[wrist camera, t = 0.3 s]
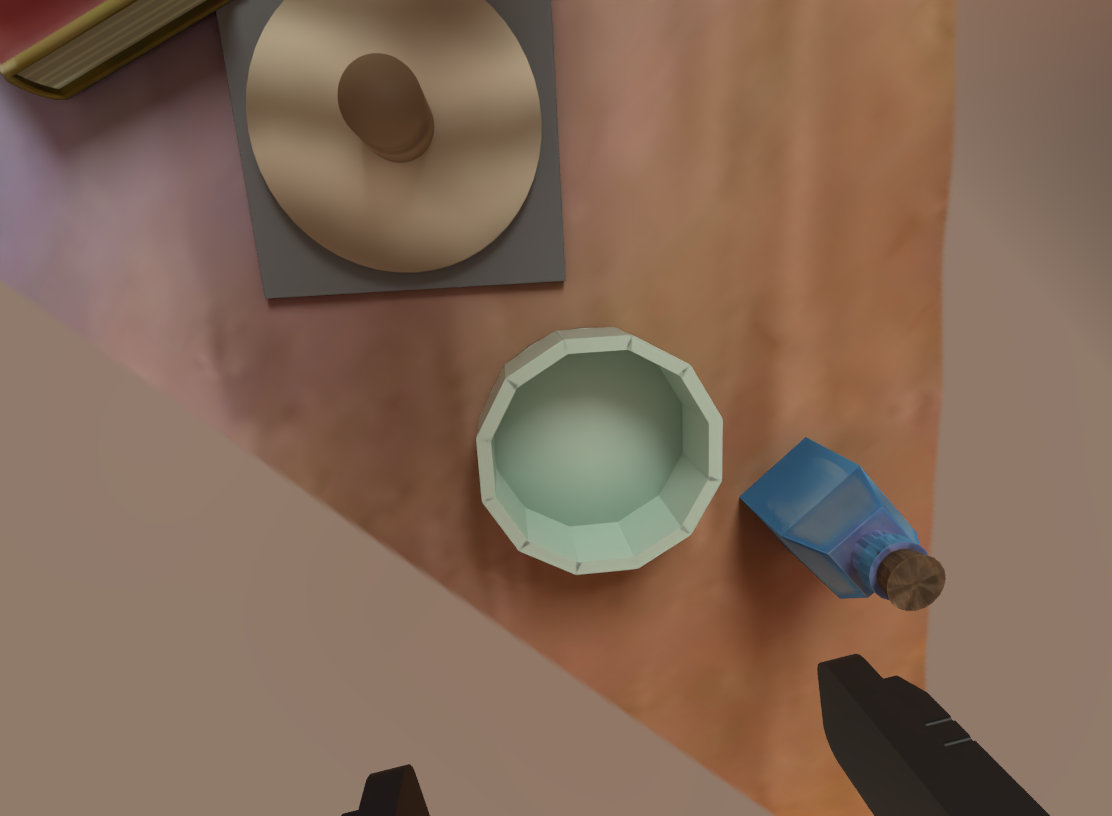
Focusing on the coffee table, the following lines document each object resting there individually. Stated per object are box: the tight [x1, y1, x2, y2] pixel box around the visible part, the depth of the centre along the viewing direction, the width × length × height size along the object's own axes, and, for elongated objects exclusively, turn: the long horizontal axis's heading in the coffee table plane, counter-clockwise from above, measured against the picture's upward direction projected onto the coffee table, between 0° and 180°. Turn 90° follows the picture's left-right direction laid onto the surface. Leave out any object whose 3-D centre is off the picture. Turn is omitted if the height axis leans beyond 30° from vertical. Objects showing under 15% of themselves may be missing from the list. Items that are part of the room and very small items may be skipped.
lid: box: [246, 0, 541, 272], centre depth 30 cm, size 16×16×6 cm
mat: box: [216, 0, 566, 298], centre depth 33 cm, size 18×18×1 cm
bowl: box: [476, 327, 723, 575], centre depth 35 cm, size 14×14×6 cm
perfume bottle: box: [740, 437, 945, 611], centre depth 35 cm, size 6×6×12 cm
